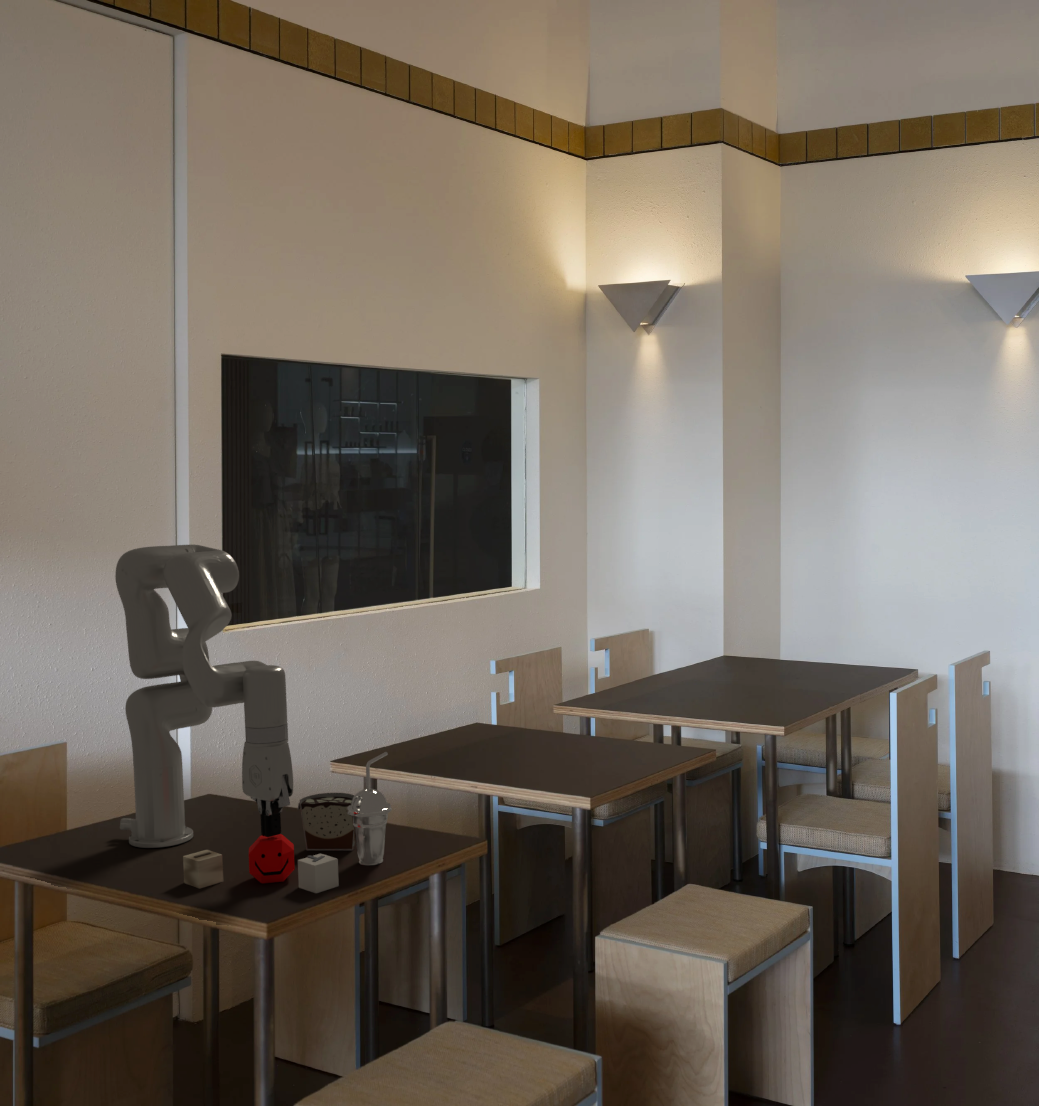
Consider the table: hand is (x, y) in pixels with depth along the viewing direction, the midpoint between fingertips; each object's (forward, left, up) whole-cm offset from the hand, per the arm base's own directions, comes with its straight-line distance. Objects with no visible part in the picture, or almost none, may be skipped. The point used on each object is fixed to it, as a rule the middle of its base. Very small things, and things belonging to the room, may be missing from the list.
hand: (271, 834), depth 221 cm
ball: (0, 0, -8) cm, 8 cm away
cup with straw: (+15, +12, -8) cm, 21 cm away
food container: (+4, +21, -8) cm, 23 cm away
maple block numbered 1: (-12, -3, -8) cm, 15 cm away
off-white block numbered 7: (+10, -3, -8) cm, 13 cm away
